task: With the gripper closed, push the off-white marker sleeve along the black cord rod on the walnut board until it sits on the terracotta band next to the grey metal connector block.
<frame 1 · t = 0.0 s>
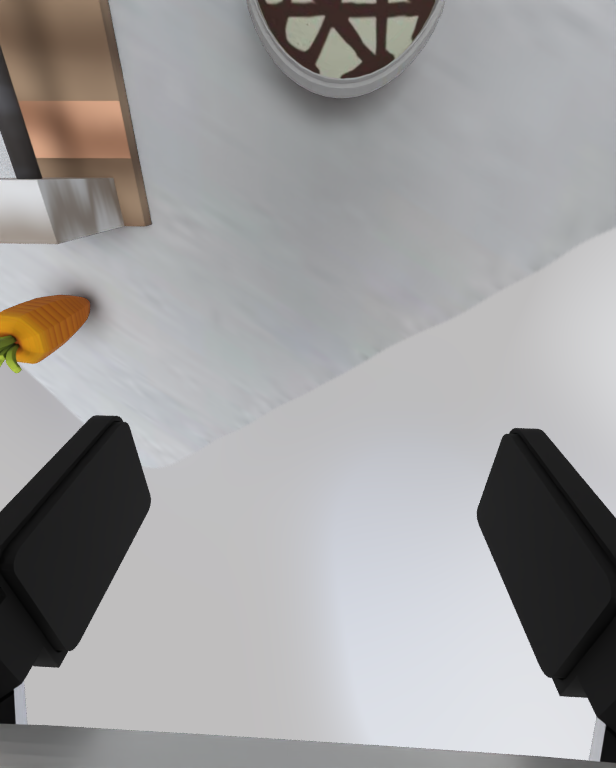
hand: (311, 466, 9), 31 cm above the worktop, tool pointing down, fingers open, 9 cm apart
food container: (327, 65, 29), on the worktop
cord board: (52, 33, 29), on the worktop
carrot: (88, 301, 40), on the worktop
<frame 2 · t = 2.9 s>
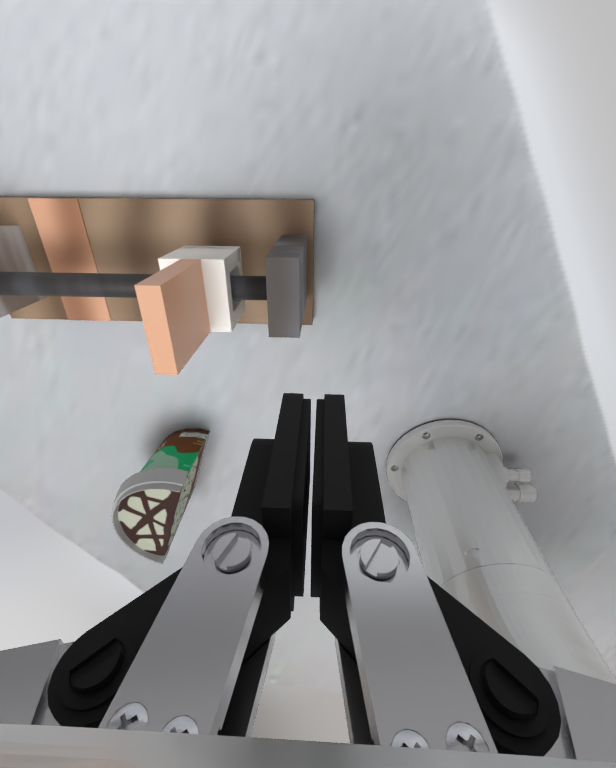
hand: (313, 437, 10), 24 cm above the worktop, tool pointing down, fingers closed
sleeve: (192, 300, 22), point 11 cm above the worktop, slide at 0.0 cm
food container: (177, 451, 43), on the worktop
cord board: (155, 261, 32), on the worktop
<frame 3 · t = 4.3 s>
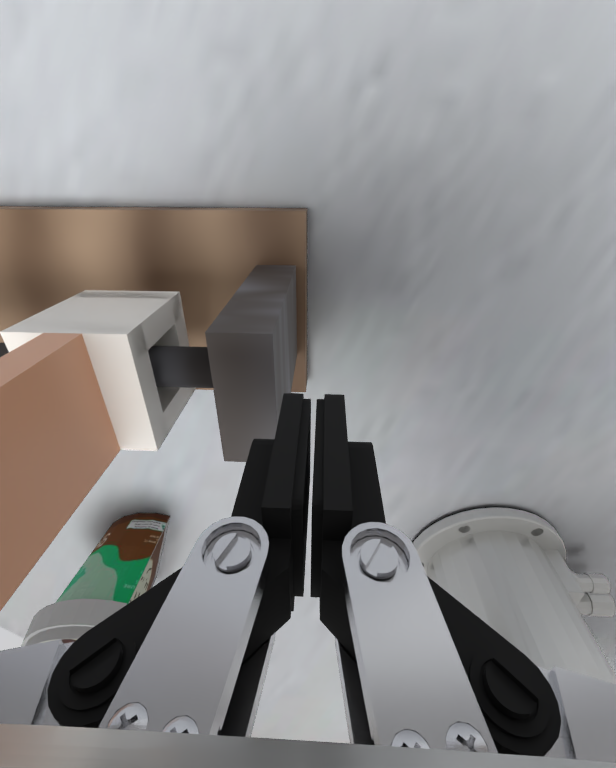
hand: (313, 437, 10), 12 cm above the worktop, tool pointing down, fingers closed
sleeve: (73, 408, 12), point 11 cm above the worktop, slide at 0.0 cm
food container: (130, 537, 33), on the worktop
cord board: (70, 300, 21), on the worktop
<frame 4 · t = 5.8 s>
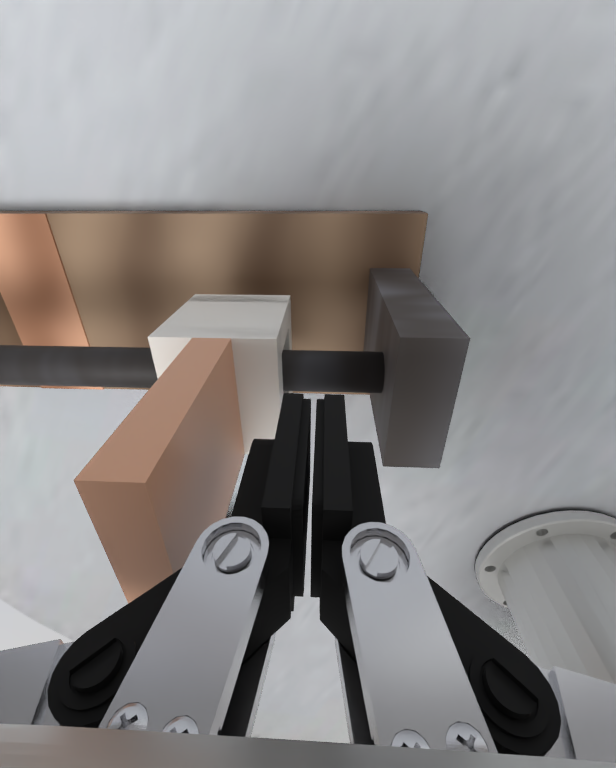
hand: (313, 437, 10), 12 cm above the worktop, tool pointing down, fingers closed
sleeve: (215, 413, 12), point 11 cm above the worktop, slide at 1.2 cm, touching gripper
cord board: (167, 304, 21), on the worktop
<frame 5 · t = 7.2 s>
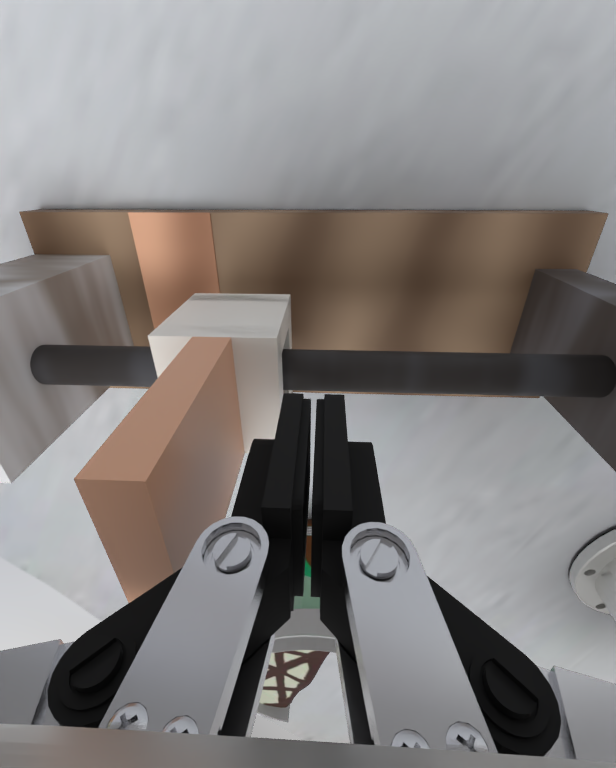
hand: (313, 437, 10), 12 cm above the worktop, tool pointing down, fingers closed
sleeve: (215, 412, 12), point 11 cm above the worktop, slide at 9.3 cm, touching gripper
food container: (284, 544, 32), on the worktop
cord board: (305, 305, 21), on the worktop
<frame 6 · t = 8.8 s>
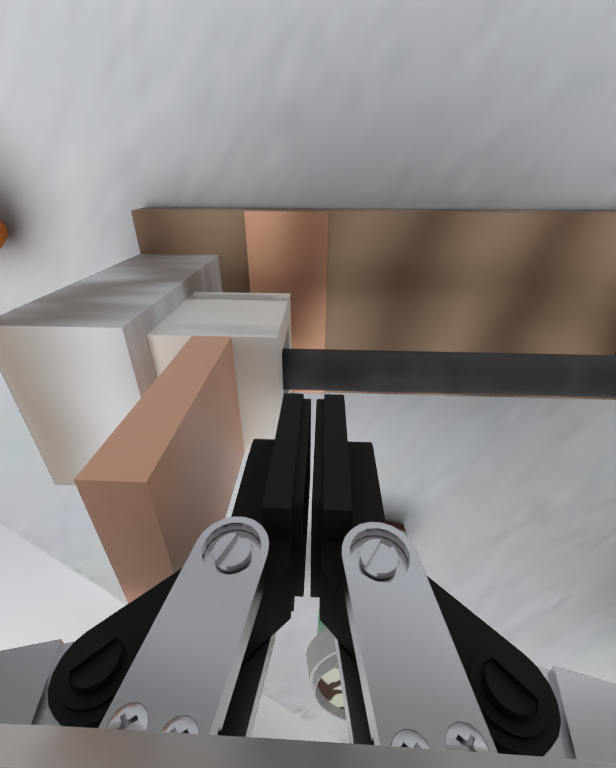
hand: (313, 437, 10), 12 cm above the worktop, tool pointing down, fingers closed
sleeve: (215, 411, 12), point 11 cm above the worktop, slide at 15.0 cm, touching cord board, gripper
food container: (347, 546, 32), on the worktop
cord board: (404, 306, 21), on the worktop
carrot: (6, 226, 20), on the worktop
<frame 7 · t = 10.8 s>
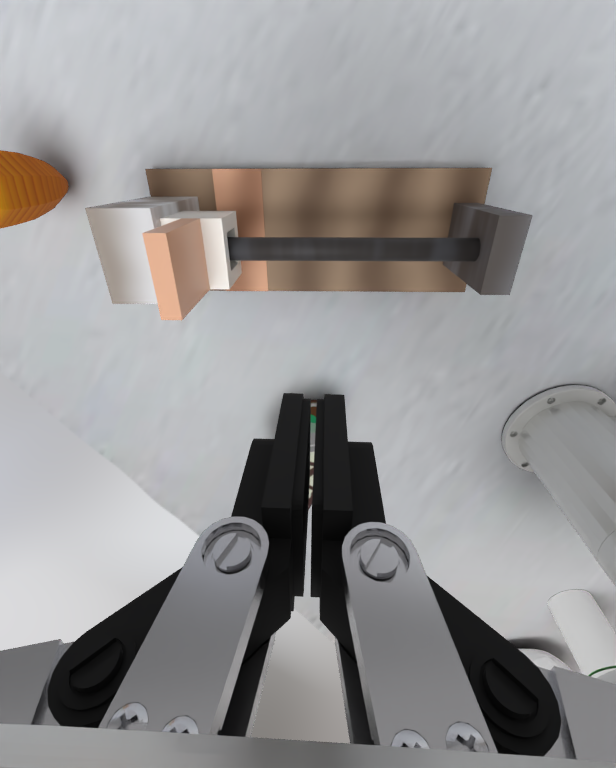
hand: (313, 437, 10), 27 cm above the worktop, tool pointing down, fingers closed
sleeve: (193, 257, 24), point 11 cm above the worktop, slide at 15.0 cm, touching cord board
food container: (298, 423, 45), on the worktop
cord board: (316, 232, 33), on the worktop
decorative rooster: (496, 653, 73), on the worktop
cylindrical container: (568, 600, 63), on the worktop
carrot: (66, 182, 32), on the worktop
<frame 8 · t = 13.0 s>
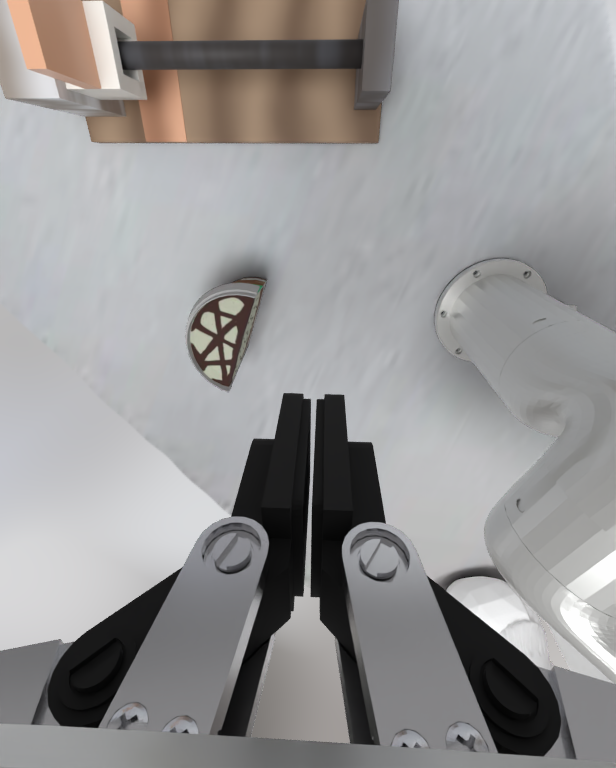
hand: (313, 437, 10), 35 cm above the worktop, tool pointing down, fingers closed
sleeve: (77, 43, 25), point 11 cm above the worktop, slide at 15.0 cm, touching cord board
food container: (233, 306, 45), on the worktop
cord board: (231, 79, 34), on the worktop
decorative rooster: (455, 586, 73), on the worktop
cylindrical container: (521, 521, 62), on the worktop
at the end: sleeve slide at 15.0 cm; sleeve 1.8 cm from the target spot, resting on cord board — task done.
